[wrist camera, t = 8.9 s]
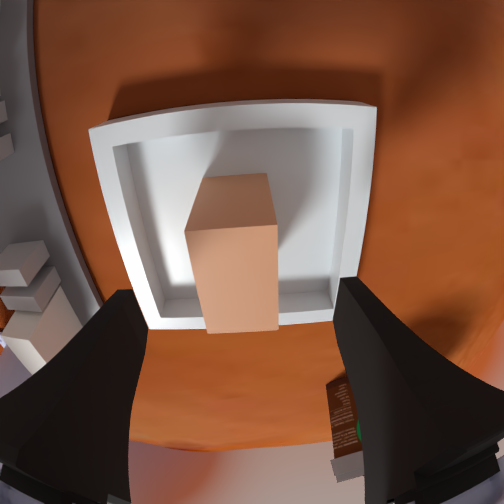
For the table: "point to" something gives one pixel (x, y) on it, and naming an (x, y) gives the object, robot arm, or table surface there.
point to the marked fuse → (235, 253)
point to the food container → (345, 431)
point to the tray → (237, 163)
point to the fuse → (41, 331)
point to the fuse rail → (32, 187)
